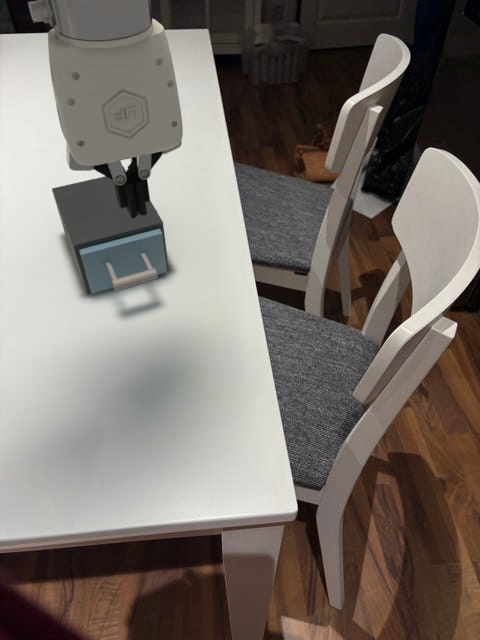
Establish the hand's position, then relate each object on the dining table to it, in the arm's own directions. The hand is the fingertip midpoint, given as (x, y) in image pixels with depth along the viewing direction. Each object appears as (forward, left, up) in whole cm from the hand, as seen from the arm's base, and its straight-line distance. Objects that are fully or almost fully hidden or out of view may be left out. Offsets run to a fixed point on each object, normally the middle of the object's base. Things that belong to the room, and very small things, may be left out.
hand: (135, 209), depth 54 cm
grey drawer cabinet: (0, +21, -22) cm, 30 cm away
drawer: (0, +17, -21) cm, 27 cm away
